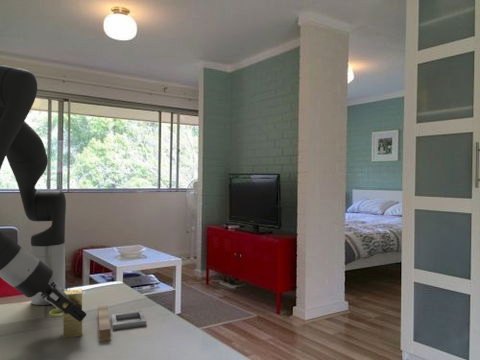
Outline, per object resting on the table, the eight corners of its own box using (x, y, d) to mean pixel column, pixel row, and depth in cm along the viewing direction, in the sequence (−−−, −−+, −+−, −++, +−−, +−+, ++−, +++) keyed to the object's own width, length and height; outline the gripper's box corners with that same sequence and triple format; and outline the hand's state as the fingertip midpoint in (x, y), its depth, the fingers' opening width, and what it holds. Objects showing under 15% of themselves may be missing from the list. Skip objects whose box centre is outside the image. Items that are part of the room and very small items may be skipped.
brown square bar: (98, 315, 109) (98, 306, 109) (107, 314, 109) (107, 305, 109) (99, 341, 92) (99, 330, 92) (110, 339, 93) (110, 328, 92)
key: (57, 304, 119) (57, 297, 119) (80, 313, 112) (80, 305, 112) (33, 311, 114) (33, 303, 114) (55, 320, 106) (55, 312, 106)
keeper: (111, 319, 106) (111, 314, 106) (142, 315, 109) (142, 310, 109) (112, 329, 98) (112, 324, 98) (146, 325, 101) (146, 320, 101)
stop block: (64, 331, 97) (64, 290, 97) (82, 329, 99) (82, 288, 99) (63, 337, 94) (63, 295, 94) (82, 335, 95) (81, 293, 95)
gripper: (43, 264, 86) (98, 307, 93) (32, 253, 98) (82, 293, 104) (15, 293, 83) (74, 335, 90) (7, 278, 95) (60, 317, 101)
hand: (78, 312), depth 97 cm, fingers open, 8 cm apart
